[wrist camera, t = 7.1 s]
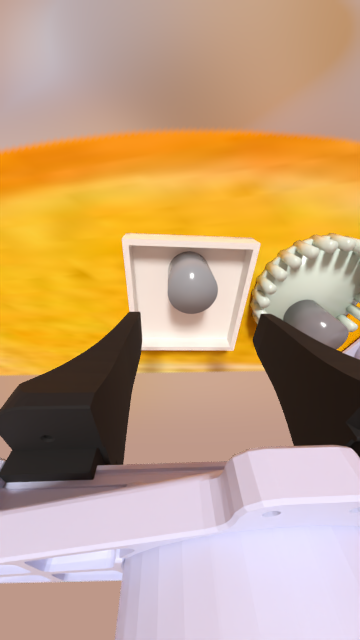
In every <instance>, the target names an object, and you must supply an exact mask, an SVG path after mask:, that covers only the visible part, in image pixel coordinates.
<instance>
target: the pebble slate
mask: <svg viewBox="0 0 360 640" xmlns="http://www.w3.org/2000/svg"><path fill="white" fill-rule="evenodd" d="M217 294H218V286H217V282H216V280H215V278H214V276H213V274H212V272H211V270H210V267H209V265H208V263H207V261H206V260H205V258H204V257H203V256H202V255H200V254H198V253H196V252H192V251H187V252H182V253H180V254H178V255H176V256H175V257H174V258H173V259H172V261H171V262H170V264H169V267H168V298H169V301H170V303H171V304H172V306H173V307H174V308H176V309H177V310H178V311H180V312H183V313H187V314H196V313H200V312H203V311H205V310H206V309H208V308H209V307H210V306H211V305H212V304H213V303H214V301H215V300H216V297H217Z"/></svg>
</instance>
